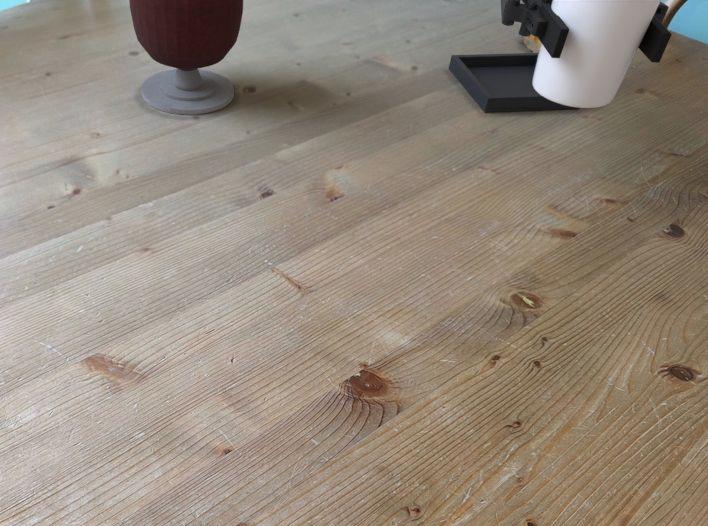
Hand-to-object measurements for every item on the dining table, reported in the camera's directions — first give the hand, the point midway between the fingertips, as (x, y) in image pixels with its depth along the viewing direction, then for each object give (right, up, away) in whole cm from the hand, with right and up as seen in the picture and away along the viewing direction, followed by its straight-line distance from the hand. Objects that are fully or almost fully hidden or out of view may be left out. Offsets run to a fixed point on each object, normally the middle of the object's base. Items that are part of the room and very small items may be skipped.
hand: (611, 46), depth 70 cm
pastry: (+12, +18, +45) cm, 50 cm away
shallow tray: (+3, +8, +34) cm, 35 cm away
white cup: (0, -2, +8) cm, 8 cm away
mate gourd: (-42, +5, +29) cm, 51 cm away
